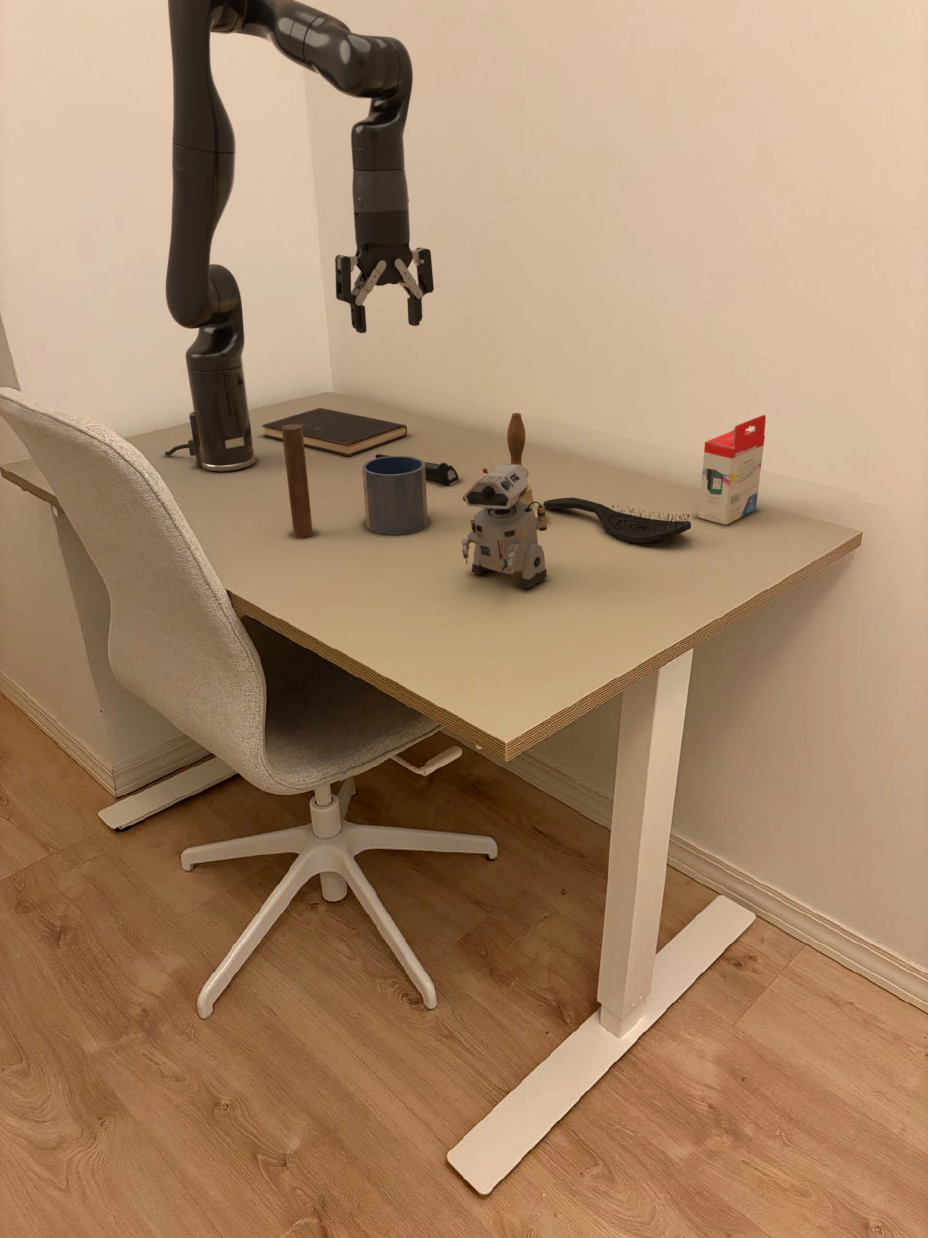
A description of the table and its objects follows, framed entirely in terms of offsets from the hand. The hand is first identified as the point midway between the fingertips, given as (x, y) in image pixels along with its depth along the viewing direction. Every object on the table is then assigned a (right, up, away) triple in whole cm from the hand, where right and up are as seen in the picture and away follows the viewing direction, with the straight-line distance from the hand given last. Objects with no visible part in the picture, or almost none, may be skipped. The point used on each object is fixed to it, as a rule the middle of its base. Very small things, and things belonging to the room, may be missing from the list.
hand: (387, 328), depth 139 cm
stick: (-12, -29, +2) cm, 32 cm away
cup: (+1, -28, +5) cm, 28 cm away
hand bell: (+19, -27, +5) cm, 33 cm away
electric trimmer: (+3, -18, +24) cm, 30 cm away
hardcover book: (-14, -7, +47) cm, 49 cm away
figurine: (+16, -37, -15) cm, 43 cm away
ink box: (+50, -26, +5) cm, 57 cm away
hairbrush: (+32, -28, +2) cm, 43 cm away
